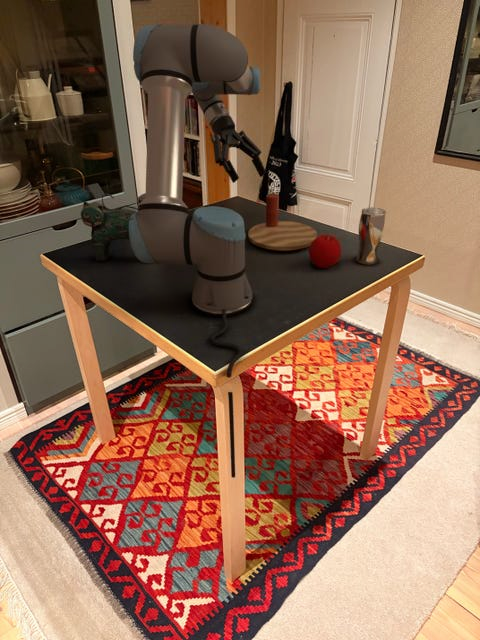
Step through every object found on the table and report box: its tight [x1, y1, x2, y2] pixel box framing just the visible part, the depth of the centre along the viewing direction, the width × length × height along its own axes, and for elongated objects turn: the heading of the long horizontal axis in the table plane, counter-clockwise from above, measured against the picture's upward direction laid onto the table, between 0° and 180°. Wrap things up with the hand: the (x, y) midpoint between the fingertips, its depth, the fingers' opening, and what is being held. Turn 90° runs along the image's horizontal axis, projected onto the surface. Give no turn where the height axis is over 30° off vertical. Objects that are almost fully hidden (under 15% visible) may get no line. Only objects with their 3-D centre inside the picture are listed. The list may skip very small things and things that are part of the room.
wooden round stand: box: [247, 193, 318, 251], centre depth 147 cm, size 22×22×11 cm
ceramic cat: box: [80, 193, 139, 262], centre depth 135 cm, size 20×6×20 cm, turn 83°
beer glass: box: [355, 206, 387, 266], centre depth 133 cm, size 7×7×15 cm
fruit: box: [308, 231, 342, 269], centre depth 132 cm, size 9×9×10 cm
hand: (250, 177), depth 154 cm, fingers open, 13 cm apart
